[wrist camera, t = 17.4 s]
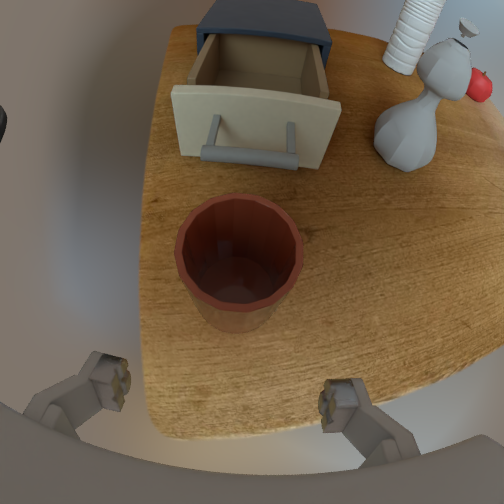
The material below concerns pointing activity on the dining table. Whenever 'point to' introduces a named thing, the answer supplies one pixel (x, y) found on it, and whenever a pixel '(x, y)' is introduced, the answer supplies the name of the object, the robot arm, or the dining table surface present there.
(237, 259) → the cup
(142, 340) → the dining table surface
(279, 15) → the cabinet
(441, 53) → the gourd bottle
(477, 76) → the apple
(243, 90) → the drawer
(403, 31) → the water bottle
